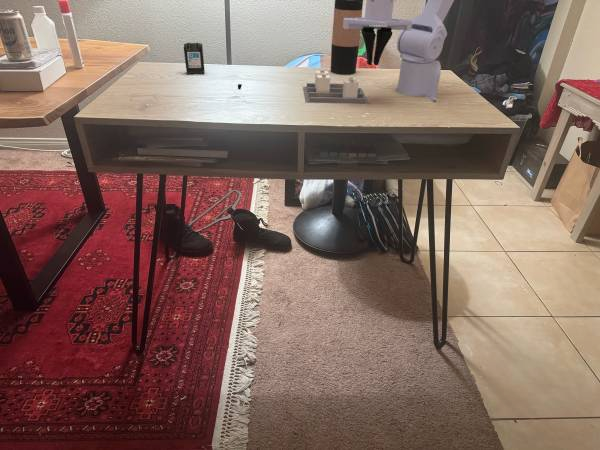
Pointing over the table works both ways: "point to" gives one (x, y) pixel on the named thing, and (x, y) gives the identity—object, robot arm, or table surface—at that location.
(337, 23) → the travel mug
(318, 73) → the tab
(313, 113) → the table surface
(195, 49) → the ink cartridge
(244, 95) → the table surface
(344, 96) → the tab
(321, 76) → the tab middle
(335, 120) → the table surface
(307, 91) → the switch bank
